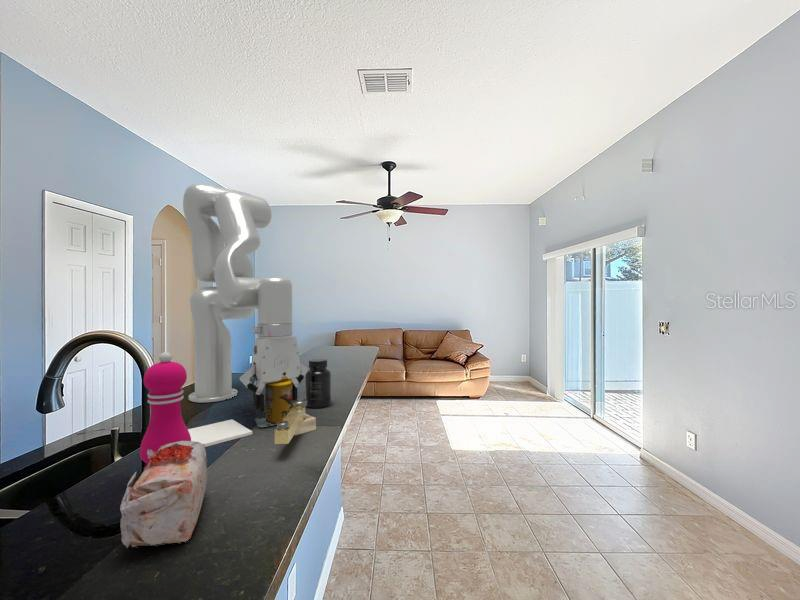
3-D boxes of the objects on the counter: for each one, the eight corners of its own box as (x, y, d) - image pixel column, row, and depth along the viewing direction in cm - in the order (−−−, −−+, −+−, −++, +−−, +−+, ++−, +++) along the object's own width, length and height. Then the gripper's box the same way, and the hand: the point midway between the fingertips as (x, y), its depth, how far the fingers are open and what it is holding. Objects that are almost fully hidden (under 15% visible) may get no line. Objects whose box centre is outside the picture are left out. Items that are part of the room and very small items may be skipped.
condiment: (298, 422, 87) (297, 370, 87) (260, 429, 82) (259, 374, 82) (288, 413, 93) (288, 365, 93) (252, 420, 89) (252, 369, 88)
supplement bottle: (336, 403, 102) (336, 359, 102) (318, 410, 96) (318, 363, 96) (318, 400, 105) (318, 357, 105) (299, 406, 100) (299, 360, 99)
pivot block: (283, 429, 82) (283, 418, 82) (304, 423, 86) (303, 412, 86) (295, 435, 79) (295, 423, 79) (316, 429, 82) (315, 418, 82)
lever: (272, 444, 67) (272, 425, 67) (293, 414, 84) (293, 399, 84) (290, 443, 67) (290, 424, 67) (308, 414, 84) (308, 398, 84)
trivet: (178, 434, 80) (178, 431, 80) (232, 421, 87) (232, 419, 87) (195, 449, 72) (195, 446, 72) (252, 434, 79) (252, 431, 79)
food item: (197, 547, 44) (196, 463, 44) (115, 565, 41) (113, 475, 41) (210, 491, 57) (209, 425, 57) (148, 501, 54) (147, 432, 54)
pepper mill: (201, 468, 64) (200, 350, 64) (162, 488, 57) (161, 356, 57) (170, 461, 66) (168, 348, 66) (128, 481, 60) (127, 354, 59)
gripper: (244, 335, 79) (245, 419, 79) (316, 329, 91) (317, 402, 91) (230, 332, 84) (231, 411, 84) (300, 327, 96) (301, 397, 97)
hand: (276, 406), depth 88 cm, fingers open, 7 cm apart
